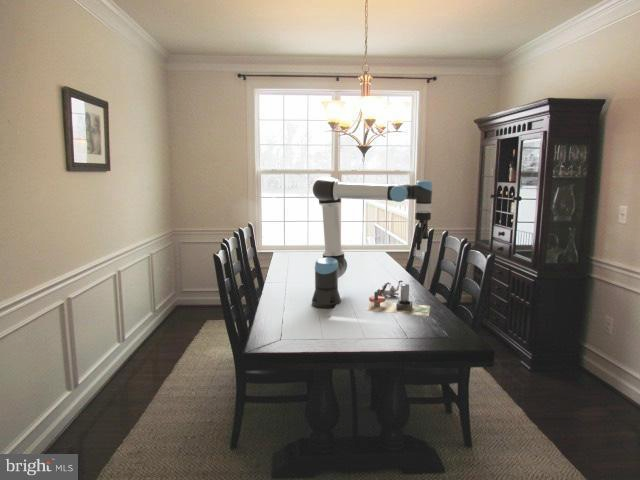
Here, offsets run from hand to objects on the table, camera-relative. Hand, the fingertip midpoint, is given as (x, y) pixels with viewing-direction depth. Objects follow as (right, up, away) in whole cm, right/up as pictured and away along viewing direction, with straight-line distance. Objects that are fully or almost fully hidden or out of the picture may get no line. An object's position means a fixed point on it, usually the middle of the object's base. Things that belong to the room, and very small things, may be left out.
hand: (421, 253), depth 228 cm
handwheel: (-23, -26, -2) cm, 34 cm away
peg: (-10, -27, -6) cm, 29 cm away
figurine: (-14, -25, +15) cm, 32 cm away
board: (-12, -28, -5) cm, 31 cm away
